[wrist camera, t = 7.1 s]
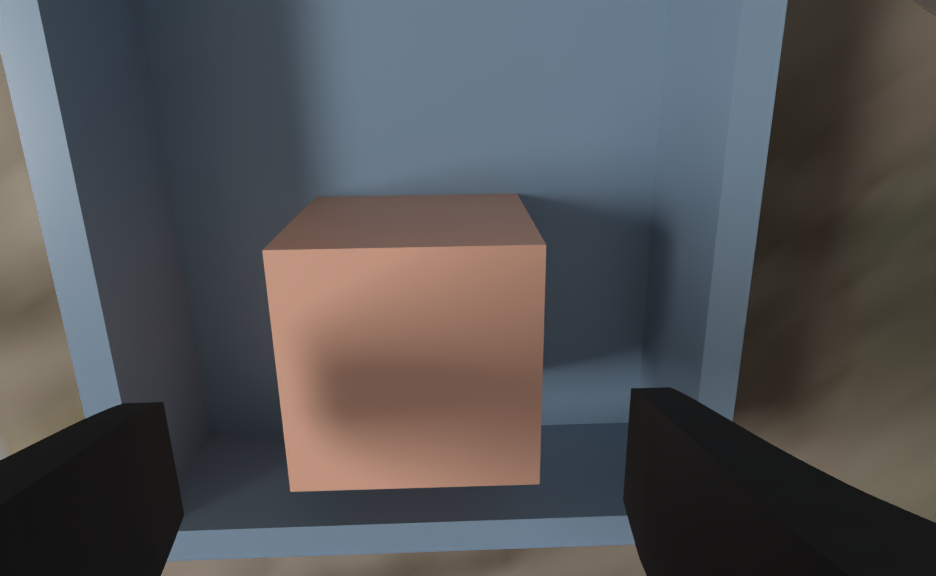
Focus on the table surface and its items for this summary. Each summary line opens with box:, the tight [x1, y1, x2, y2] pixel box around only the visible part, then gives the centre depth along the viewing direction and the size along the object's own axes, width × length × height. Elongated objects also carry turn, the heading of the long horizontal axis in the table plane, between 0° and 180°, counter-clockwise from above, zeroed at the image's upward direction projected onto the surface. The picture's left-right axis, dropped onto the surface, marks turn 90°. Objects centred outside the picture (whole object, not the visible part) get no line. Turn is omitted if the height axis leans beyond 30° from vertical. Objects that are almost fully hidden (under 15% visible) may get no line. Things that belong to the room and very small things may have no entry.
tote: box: [0, 0, 788, 561], centre depth 14 cm, size 18×14×5 cm
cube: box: [262, 193, 546, 492], centre depth 15 cm, size 5×5×5 cm
